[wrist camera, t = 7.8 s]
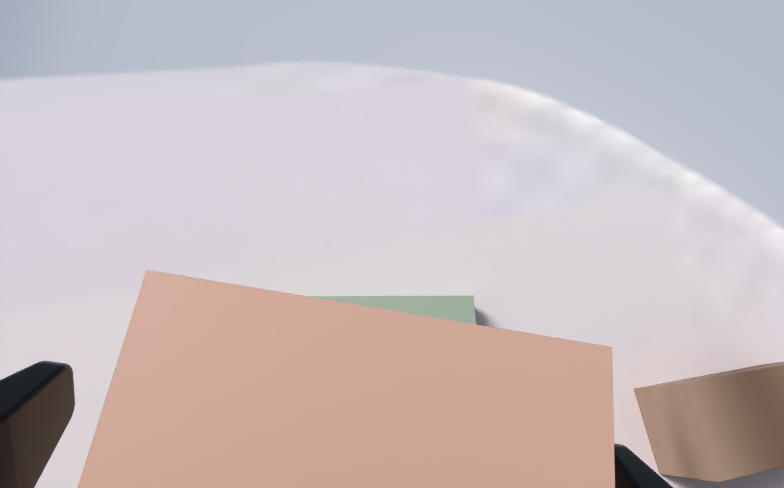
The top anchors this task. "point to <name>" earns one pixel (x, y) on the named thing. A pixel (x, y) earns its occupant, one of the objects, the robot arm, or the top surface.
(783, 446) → the walnut brick
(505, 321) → the top surface
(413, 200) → the top surface
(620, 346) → the top surface
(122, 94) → the top surface
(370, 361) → the terracotta column
